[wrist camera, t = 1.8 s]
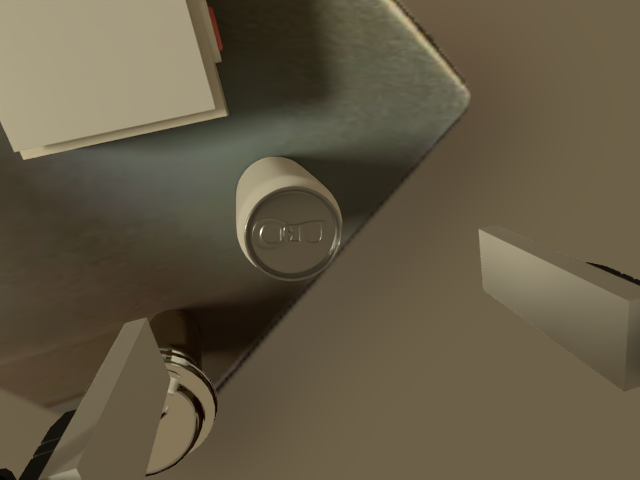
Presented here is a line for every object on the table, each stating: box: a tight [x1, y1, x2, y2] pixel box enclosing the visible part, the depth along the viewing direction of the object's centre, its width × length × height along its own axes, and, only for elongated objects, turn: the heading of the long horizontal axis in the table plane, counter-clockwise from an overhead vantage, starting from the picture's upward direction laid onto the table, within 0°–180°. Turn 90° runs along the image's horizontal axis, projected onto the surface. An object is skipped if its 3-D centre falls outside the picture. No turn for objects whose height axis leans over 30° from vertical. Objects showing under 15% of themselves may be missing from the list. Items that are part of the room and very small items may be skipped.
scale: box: [0, 0, 229, 160], centre depth 25 cm, size 12×13×9 cm
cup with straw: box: [83, 310, 218, 477], centre depth 27 cm, size 8×9×20 cm
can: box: [236, 157, 342, 281], centre depth 28 cm, size 6×6×12 cm
